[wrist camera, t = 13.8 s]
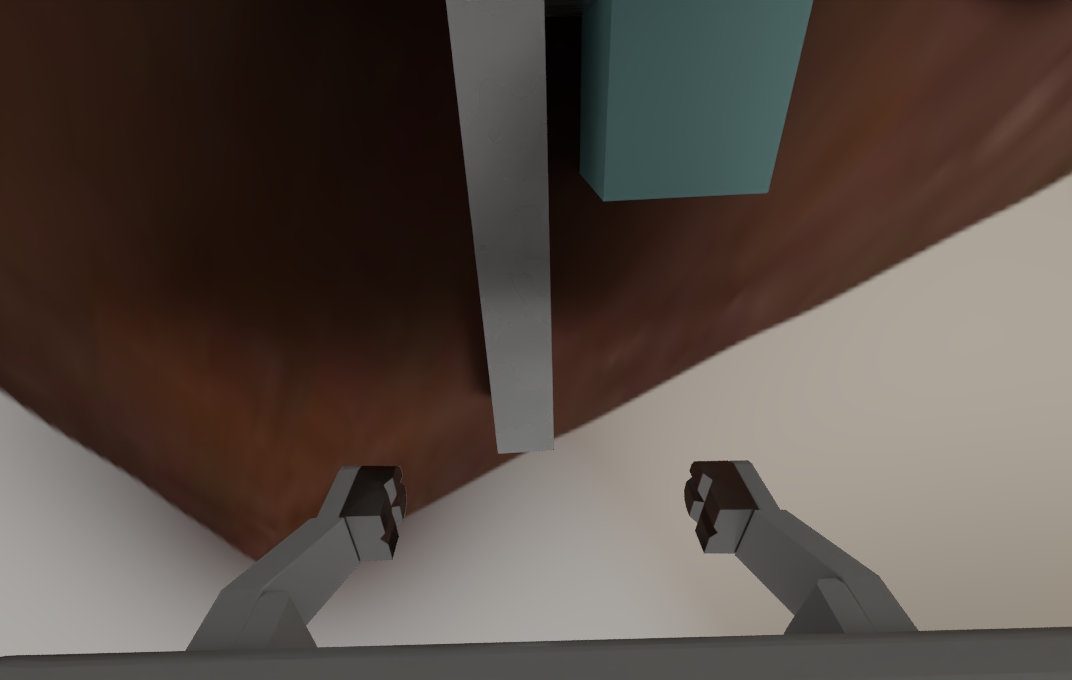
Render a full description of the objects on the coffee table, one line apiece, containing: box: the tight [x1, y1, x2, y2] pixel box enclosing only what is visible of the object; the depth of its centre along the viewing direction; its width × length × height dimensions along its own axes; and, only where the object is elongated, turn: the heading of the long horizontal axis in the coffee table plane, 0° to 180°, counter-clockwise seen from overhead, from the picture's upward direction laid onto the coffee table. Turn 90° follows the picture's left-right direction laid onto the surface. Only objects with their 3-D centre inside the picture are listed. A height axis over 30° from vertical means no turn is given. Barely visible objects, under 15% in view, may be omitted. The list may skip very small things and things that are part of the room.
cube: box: [580, 0, 813, 201], centre depth 14 cm, size 5×5×5 cm
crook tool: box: [446, 0, 598, 454], centre depth 16 cm, size 8×18×4 cm, turn 2°
